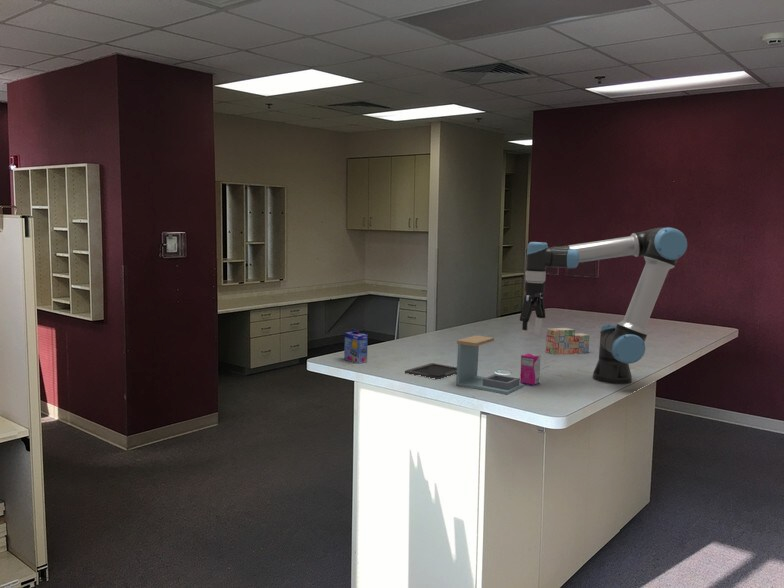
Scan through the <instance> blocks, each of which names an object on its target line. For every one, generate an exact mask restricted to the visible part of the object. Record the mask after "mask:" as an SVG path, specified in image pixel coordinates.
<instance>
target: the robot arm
mask: <svg viewBox="0 0 784 588" xmlns="http://www.w3.org/2000/svg"><path fill="white" fill-rule="evenodd" d="M687 240H688V239H687V237H686V236H685V234H684V233H683V232H682V231H681V230H679V229H677V228H674V227H670V226H667V227H655V228H650V229H647V230H643V231H640V232H633V233H631V234H630V235H629V236H621V237H615V238H609V239H604V240H596V241H589V242H582V243H581V242H580V243H575V244H569V245H562V246H552V247H549V246H548V243H547V242H542V241H541V242H540V241H539V242H538V241H530V242H529V243H528V244H527V251H526V264H525V265H526V266H525V273H524V275H525V281H526V282H525V283H524V292H526V293H528V295H527V294H525V295H524V300H523V303H522V308H521V312H520V316H519V321H520V322H521V337H520V339H525V340H529V338H530V325H531V324H530V318H531V316H532V313H533V311H534V312H535V316H536V317H535V322H534V324H535V325H534V335H540V336H542V334H543V322H544V319H546V309H545V302H544V301H545V300H544V295H545V294H544V293H545V291H546V290H545V289H546V288H545V287H546V284H545V282H546V277H547V276H546V274H547V273H546V272H547V268H561V269H563V268H564V269H576V268H577V267H578V265H579V263H585V262H593V261H600V260H606V259H612V258H614V259H615V258H619V257H621V258H622V257H628V256H634V257H636V258H637V257H643V259H644V261H645V264H644V267H643V269H642V272H641V273H640V274H641V275H640V277H639V280H638V283H637V285H636V287H635V290H634V292H633V294H632V297H631V300H630V302H629V305H628V308H627V310H626V313H625V315H624V317H623V320H622V321H620V322H617V324H604V323H603V324H602V325H601V327H600V331H599V334H600V335H599V346H598V347H599V348H598V351H599V352H598V360H597V363H596V365H595V367H594V371H593V372H592V379H593V380H595V381H597V382H600V383H604V384H613V385H628V384H632V380H633V377H632V372H631V367H630V365H629V364H634V363H637V362H638V361H640V360H642V358H643V357H644V355H645V353H646V344H645V342H646V339H647V336H648V332H647V330H646V327H647V326H648V322H649V321H650V317H651V315H652V312H653V310H654V307H655V304H656V302H657V300H658V298H659V296H660V293H661V290H662V288H663V285H664V283H665V280H666V278H667V276H668V273H669V272H670V270H672V269H674V268H675V266H676V264H677V262H678V259H680V258H681V257H682V256H683V255H684V254H685V253H686V251H687V249H688V241H687ZM533 309H534V310H533Z"/></svg>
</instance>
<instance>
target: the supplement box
mask: <svg viewBox="0 0 784 588" xmlns="http://www.w3.org/2000/svg"><path fill="white" fill-rule="evenodd" d="M540 376H541V354H533V353H524V354H522V355H520V378H519V379H520V380H519V383H521V384H524V386H530V387H534V385H535V386H537V385H540V379H541V378H540Z"/></svg>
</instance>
